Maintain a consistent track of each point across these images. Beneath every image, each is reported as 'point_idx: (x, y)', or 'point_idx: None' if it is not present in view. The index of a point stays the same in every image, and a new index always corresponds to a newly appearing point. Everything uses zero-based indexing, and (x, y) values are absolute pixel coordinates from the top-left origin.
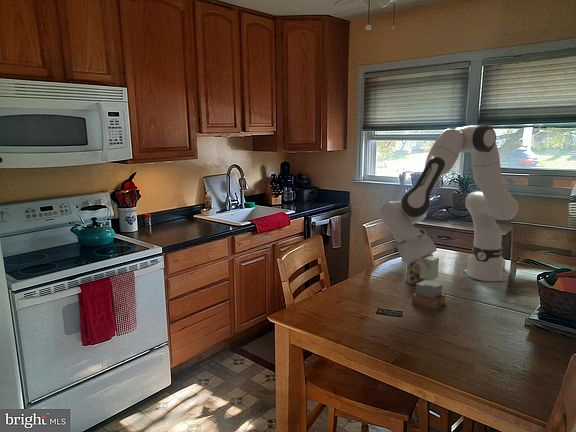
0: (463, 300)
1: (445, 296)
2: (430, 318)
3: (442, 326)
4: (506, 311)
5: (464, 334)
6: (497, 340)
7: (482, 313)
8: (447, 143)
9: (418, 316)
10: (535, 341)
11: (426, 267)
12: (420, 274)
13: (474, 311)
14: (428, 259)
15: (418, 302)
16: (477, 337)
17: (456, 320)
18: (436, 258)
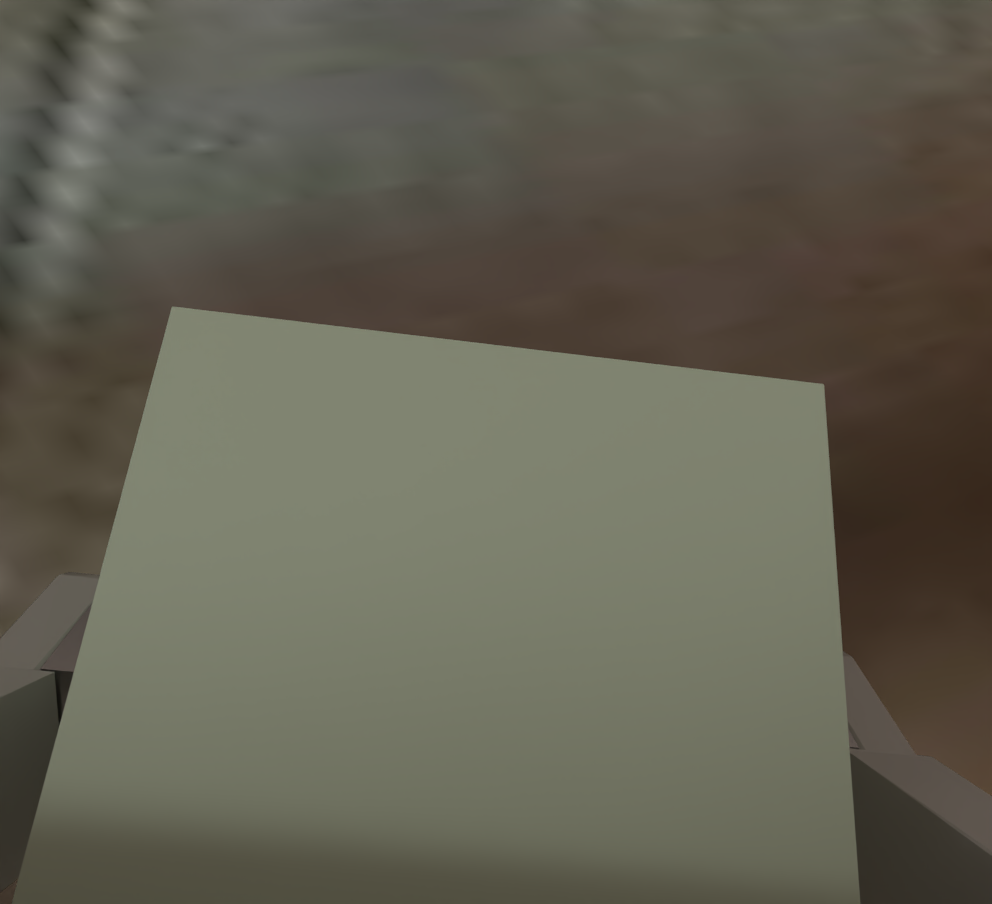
0: (60, 402)
1: None
2: (854, 554)
3: (931, 394)
4: (165, 17)
5: (924, 206)
6: (824, 12)
7: (354, 170)
8: None
9: (911, 691)
10: None
11: (855, 677)
12: None
13: (349, 237)
14: (834, 619)
15: None
16: (892, 122)
17: (699, 325)
18: (401, 357)
